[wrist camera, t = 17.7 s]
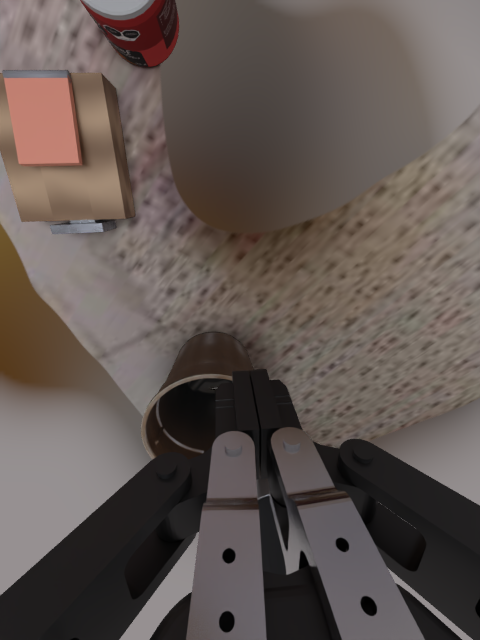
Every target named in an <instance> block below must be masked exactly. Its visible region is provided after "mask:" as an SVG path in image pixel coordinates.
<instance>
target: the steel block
mask: <svg viewBox="0 0 480 640" xmlns="http://www.w3.org/2000/svg"><path fill="white" fill-rule="evenodd" d="M50 228H51V231H52V234H67V233H89V232H105V231H108V230H111V229H114V228H116V223H115V220H103V219H97V220H70V222H66V223H61V224H55V225H50Z"/></svg>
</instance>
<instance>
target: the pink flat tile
mask: <svg viewBox="0 0 480 640" xmlns="http://www.w3.org/2000/svg"><path fill="white" fill-rule="evenodd" d="M2 74H3V77H4V82H5V87H6V93H7V99H8V104H9V110H10V116H11V122H12V127H13V133H14V139H15V145H16V150H17V156H18V162H19V164H20V165H22V166H75V165H83V164H82V157H81V149H80V142H79V134H78V127H77V119H76V112H75V105H74V97H73V90H72V79H71V75H70V73H69V71H68V70H3V71H2Z"/></svg>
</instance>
